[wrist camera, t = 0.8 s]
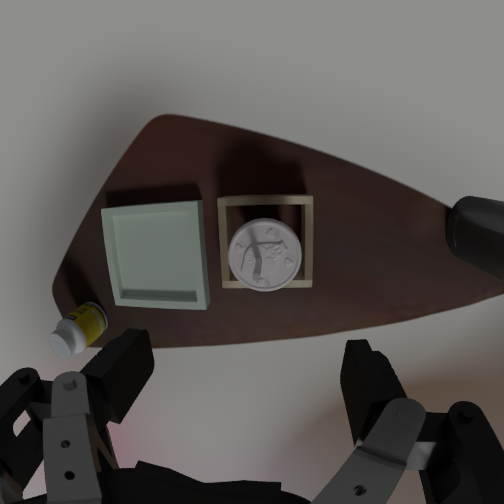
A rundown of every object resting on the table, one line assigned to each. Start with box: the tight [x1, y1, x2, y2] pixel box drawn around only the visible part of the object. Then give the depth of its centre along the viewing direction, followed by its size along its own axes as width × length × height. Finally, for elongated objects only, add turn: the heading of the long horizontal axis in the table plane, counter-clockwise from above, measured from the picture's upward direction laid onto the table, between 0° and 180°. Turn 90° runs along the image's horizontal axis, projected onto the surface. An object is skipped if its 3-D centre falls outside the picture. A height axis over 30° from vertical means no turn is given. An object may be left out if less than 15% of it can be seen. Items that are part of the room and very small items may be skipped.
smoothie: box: [228, 218, 302, 291], centre depth 26 cm, size 6×6×14 cm
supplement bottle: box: [49, 302, 108, 359], centre depth 34 cm, size 5×5×10 cm
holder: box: [217, 194, 313, 288], centre depth 31 cm, size 10×10×4 cm
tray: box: [101, 200, 210, 310], centre depth 34 cm, size 13×13×2 cm
